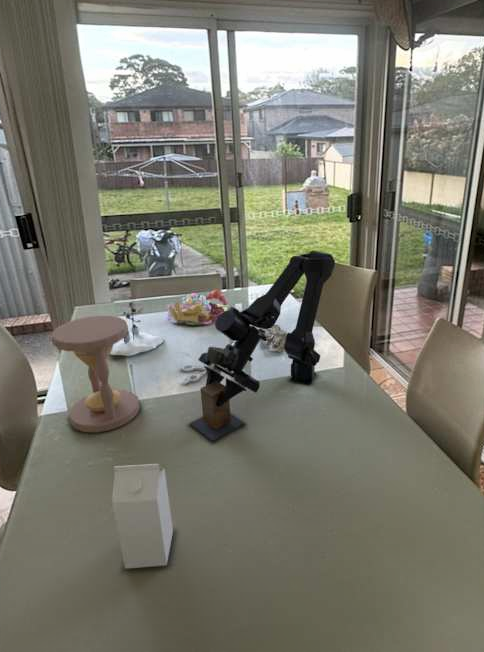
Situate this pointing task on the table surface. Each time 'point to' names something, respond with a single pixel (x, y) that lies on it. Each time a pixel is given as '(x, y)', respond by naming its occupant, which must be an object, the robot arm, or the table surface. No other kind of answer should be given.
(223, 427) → the coaster mat
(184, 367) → the scissors
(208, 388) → the walnut block
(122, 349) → the figurine
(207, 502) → the table surface
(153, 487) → the milk carton
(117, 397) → the hourglass
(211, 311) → the yellow pink lumpy heap
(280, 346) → the pale grey lumpy piece
